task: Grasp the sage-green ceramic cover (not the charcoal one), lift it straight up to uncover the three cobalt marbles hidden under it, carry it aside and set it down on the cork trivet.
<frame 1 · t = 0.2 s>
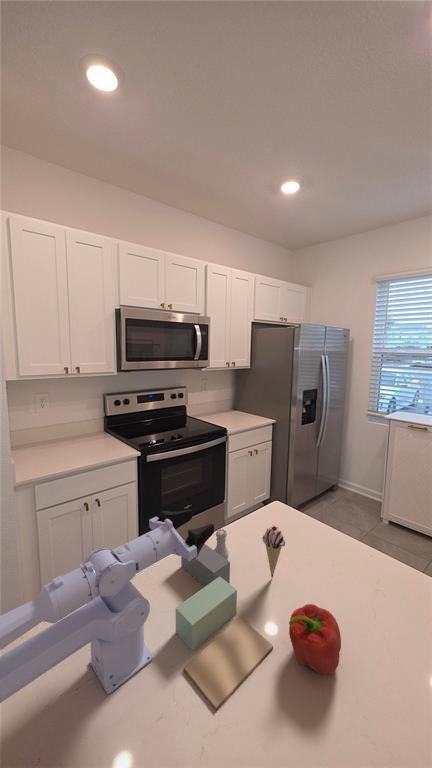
hand: (201, 520, 72), 21 cm above the countertop, tool horizontal, fingers open, 7 cm apart
marble 2: (207, 616, 70), in the sage cover
sage cover: (207, 622, 70), on the countertop
marble 1: (195, 632, 68), on the countertop
charcoal cover: (204, 574, 84), on the countertop
cork trivet: (229, 658, 63), on the countertop
rook chess piece: (220, 557, 91), on the countertop
ice cream cone: (271, 579, 83), on the countertop
vegetable: (312, 659, 63), on the countertop
marble 3: (218, 613, 73), on the countertop
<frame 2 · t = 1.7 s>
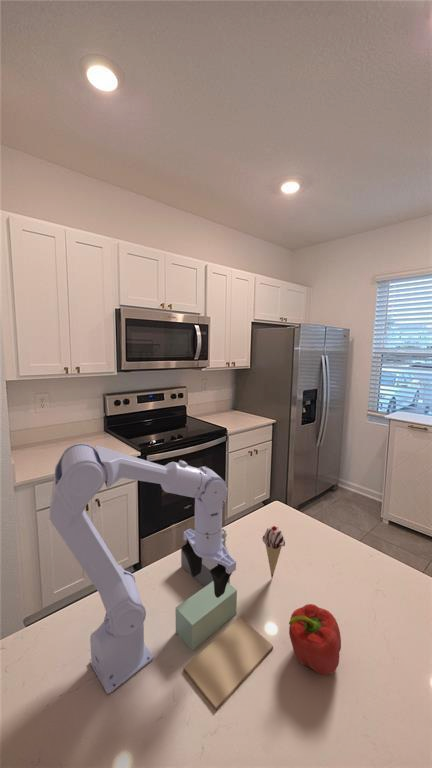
hand: (207, 584, 69), 10 cm above the countertop, tool pointing down, fingers open, 7 cm apart
nothing on the countertop moved.
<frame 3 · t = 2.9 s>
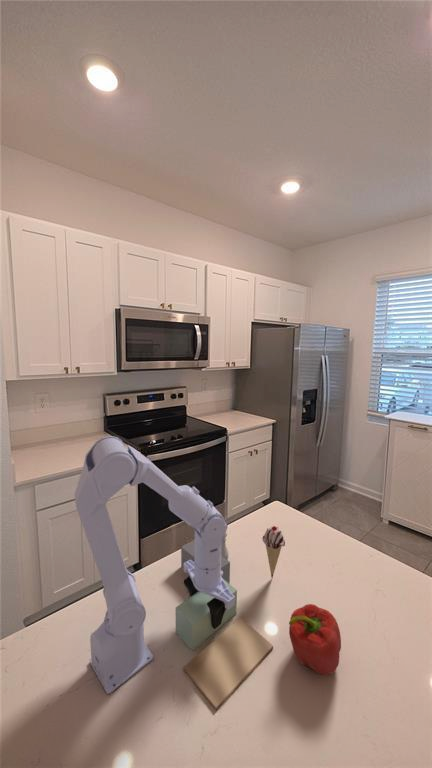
hand: (207, 616, 70), 2 cm above the countertop, tool pointing down, fingers closed on sage cover, 6 cm apart
sage cover: (207, 622, 70), on the countertop, touching gripper
everything else where it was.
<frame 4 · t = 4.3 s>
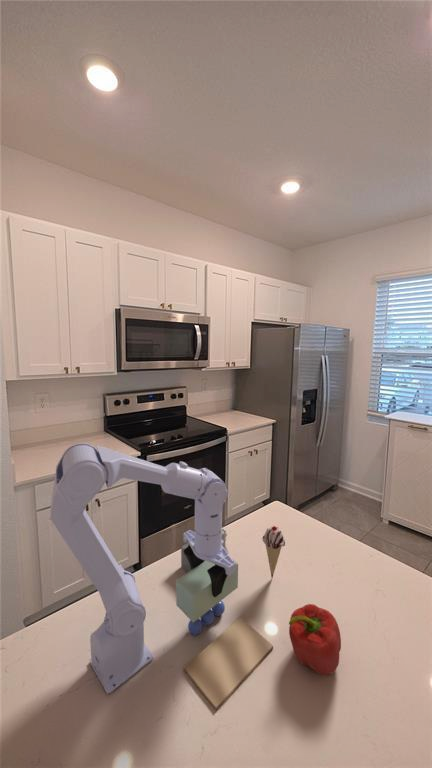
hand: (207, 585, 69), 9 cm above the countertop, tool pointing down, fingers closed on sage cover, 6 cm apart
sage cover: (208, 596, 70), point 6 cm above the countertop, touching gripper
everything else where it was.
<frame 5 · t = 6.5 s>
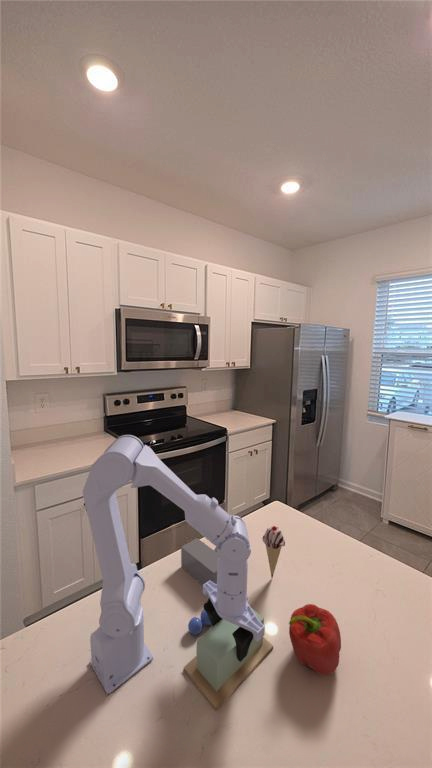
hand: (230, 645, 62), 3 cm above the countertop, tool pointing down, fingers closed on sage cover, 6 cm apart
sage cover: (230, 655, 63), point 1 cm above the countertop, touching cork trivet, gripper
everything else where it was.
when the fingers open (3 cm above the countertop, at t = 7.0 s): sage cover stays where it is, resting on cork trivet.
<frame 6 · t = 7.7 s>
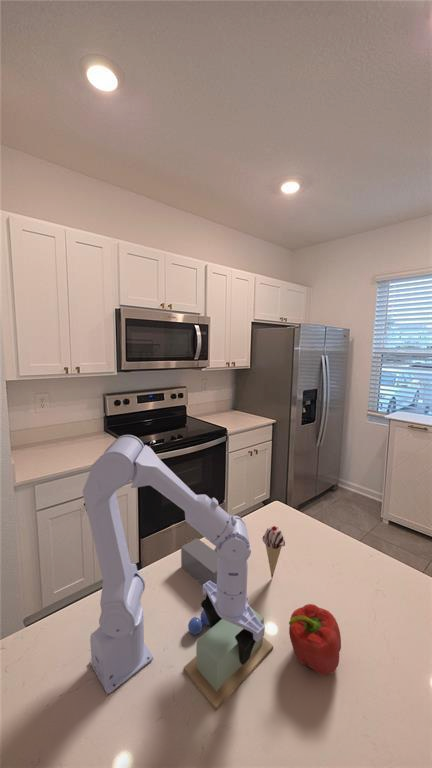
hand: (230, 645, 62), 3 cm above the countertop, tool pointing down, fingers open, 7 cm apart
sage cover: (230, 655, 63), point 1 cm above the countertop, touching cork trivet
everything else where it was.
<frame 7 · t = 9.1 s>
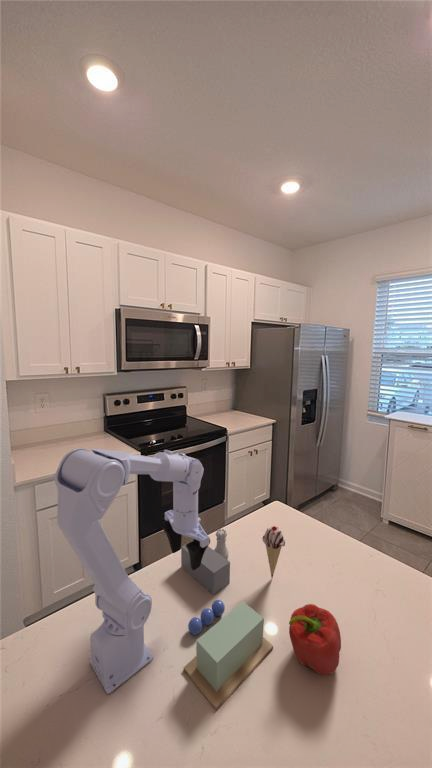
hand: (185, 559, 76), 10 cm above the countertop, tool pointing down, fingers open, 7 cm apart
nothing on the countertop moved.
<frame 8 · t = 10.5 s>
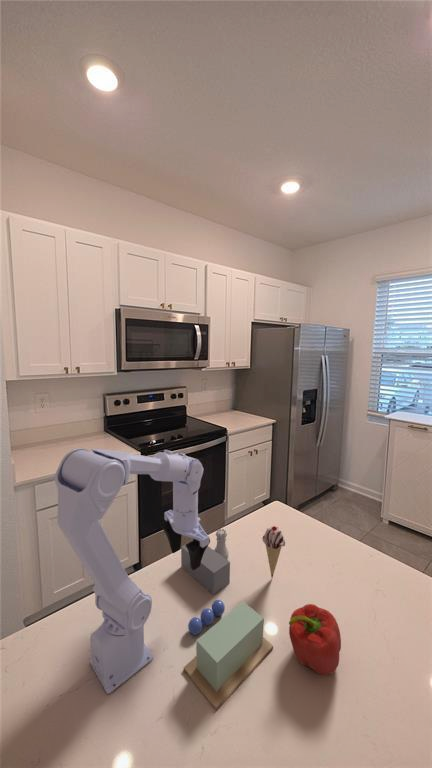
hand: (185, 558, 76), 10 cm above the countertop, tool pointing down, fingers open, 7 cm apart
nothing on the countertop moved.
at the end: sage cover inside the target area on the cork trivet (0.2 cm from its centre), point 0.6 cm above the cork trivet's base; sage cover tilted 0°; sage cover moved 9.2 cm from its start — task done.
